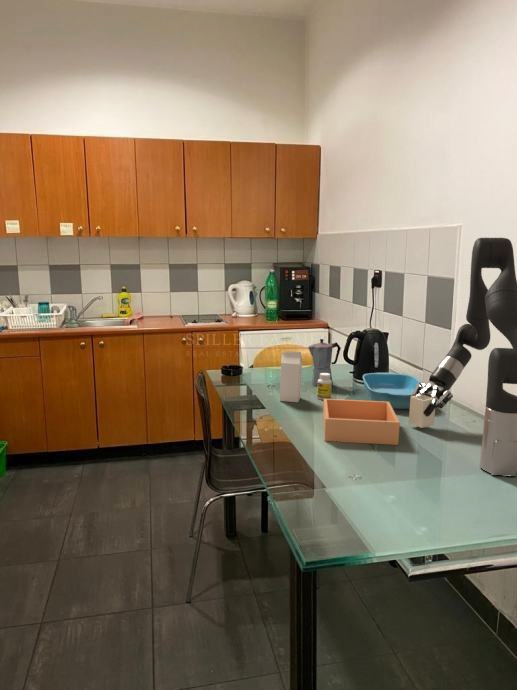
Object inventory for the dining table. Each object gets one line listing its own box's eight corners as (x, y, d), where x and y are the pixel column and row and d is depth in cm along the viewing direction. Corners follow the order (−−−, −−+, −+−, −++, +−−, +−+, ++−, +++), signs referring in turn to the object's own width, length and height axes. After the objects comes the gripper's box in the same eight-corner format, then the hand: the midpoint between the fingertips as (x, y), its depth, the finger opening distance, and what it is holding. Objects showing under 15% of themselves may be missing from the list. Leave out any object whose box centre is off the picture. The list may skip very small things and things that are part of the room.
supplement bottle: (314, 398, 207) (315, 374, 206) (319, 395, 212) (321, 371, 210) (328, 401, 205) (329, 376, 203) (332, 397, 210) (334, 373, 208)
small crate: (420, 420, 180) (422, 394, 178) (433, 425, 175) (435, 398, 173) (408, 422, 177) (410, 396, 175) (421, 427, 172) (423, 400, 171)
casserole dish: (358, 386, 229) (359, 370, 228) (411, 388, 227) (413, 372, 226) (370, 412, 193) (371, 393, 192) (433, 415, 191) (434, 395, 190)
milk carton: (298, 402, 202) (300, 353, 198) (279, 401, 203) (281, 352, 200) (300, 397, 209) (302, 350, 205) (282, 396, 210) (284, 349, 206)
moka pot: (301, 383, 230) (303, 337, 226) (331, 380, 237) (334, 336, 233) (312, 389, 222) (314, 341, 218) (344, 385, 228) (346, 339, 224)
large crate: (398, 444, 161) (399, 422, 159) (324, 440, 163) (325, 418, 161) (387, 421, 182) (389, 401, 181) (322, 418, 184) (323, 398, 183)
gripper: (425, 362, 182) (396, 400, 179) (459, 370, 170) (429, 411, 166) (435, 375, 186) (407, 413, 182) (469, 385, 174) (440, 425, 170)
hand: (418, 412), depth 174 cm, fingers closed on small crate, 5 cm apart
